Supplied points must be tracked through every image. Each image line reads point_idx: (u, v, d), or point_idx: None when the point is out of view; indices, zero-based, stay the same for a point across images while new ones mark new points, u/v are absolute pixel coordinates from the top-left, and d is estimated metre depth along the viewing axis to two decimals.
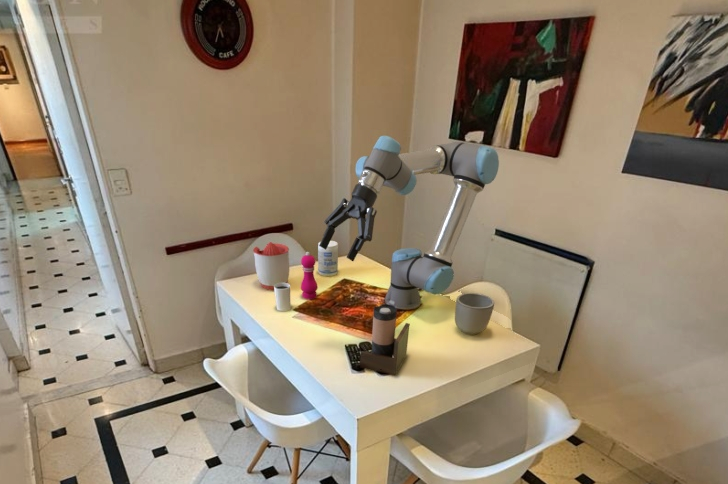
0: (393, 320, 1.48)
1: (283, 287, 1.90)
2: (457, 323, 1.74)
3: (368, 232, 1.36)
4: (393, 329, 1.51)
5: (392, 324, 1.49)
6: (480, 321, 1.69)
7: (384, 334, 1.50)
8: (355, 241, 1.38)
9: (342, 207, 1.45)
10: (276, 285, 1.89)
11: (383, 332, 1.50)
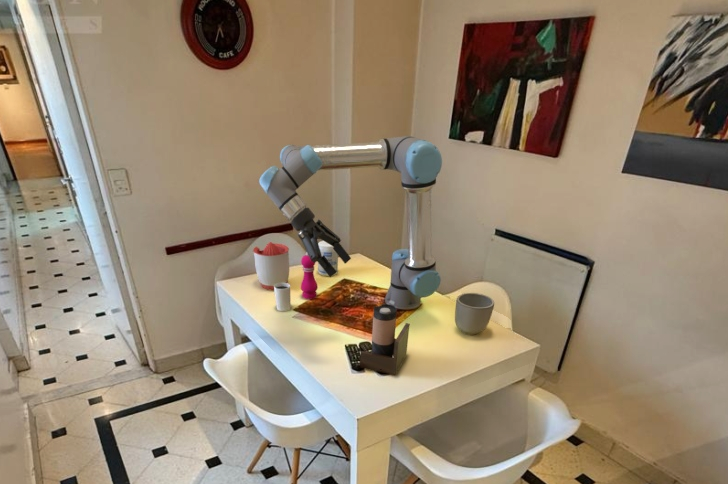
0: (393, 320, 1.48)
1: (283, 287, 1.90)
2: (457, 323, 1.74)
3: (309, 255, 1.42)
4: (393, 329, 1.51)
5: (392, 324, 1.49)
6: (480, 321, 1.69)
7: (384, 334, 1.50)
8: None
9: None
10: (276, 285, 1.89)
11: (383, 332, 1.50)
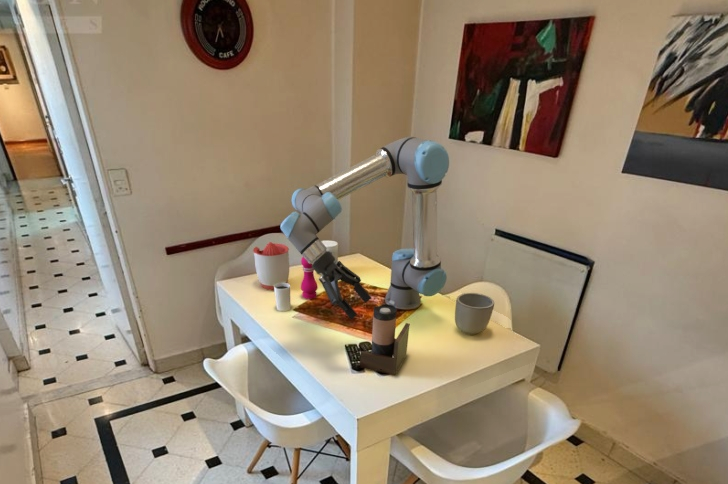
0: (393, 320, 1.48)
1: (283, 287, 1.90)
2: (457, 323, 1.74)
3: (330, 299, 1.43)
4: (393, 329, 1.51)
5: (392, 324, 1.49)
6: (480, 321, 1.69)
7: (384, 333, 1.50)
8: None
9: None
10: (276, 285, 1.89)
11: (383, 332, 1.50)
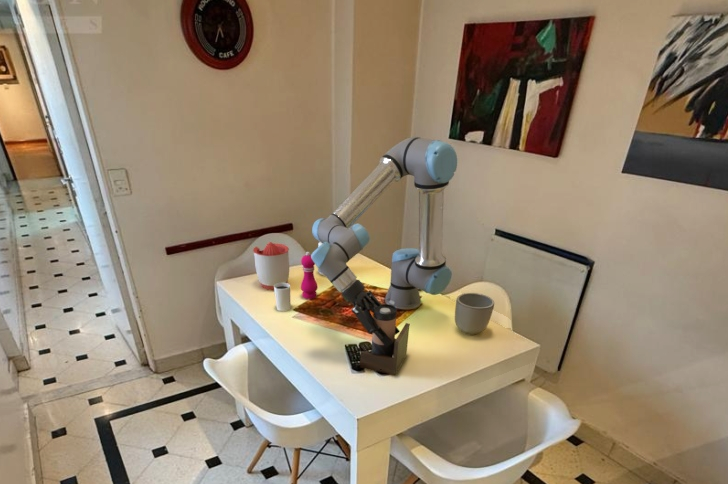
0: (393, 320, 1.48)
1: (283, 287, 1.90)
2: (457, 323, 1.74)
3: (367, 329, 1.47)
4: (393, 329, 1.51)
5: (392, 324, 1.49)
6: (480, 321, 1.69)
7: None
8: None
9: None
10: (276, 285, 1.89)
11: None
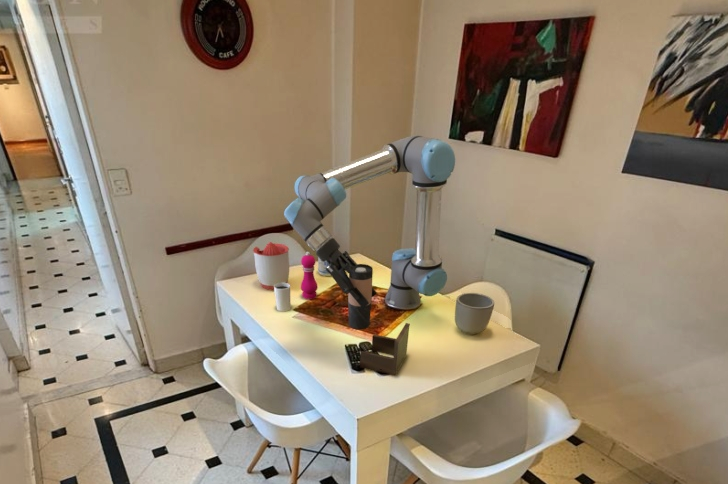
0: (369, 279, 1.44)
1: (283, 287, 1.90)
2: (457, 323, 1.74)
3: (342, 288, 1.43)
4: (369, 289, 1.47)
5: (368, 284, 1.45)
6: (480, 321, 1.69)
7: None
8: None
9: None
10: (276, 285, 1.89)
11: None
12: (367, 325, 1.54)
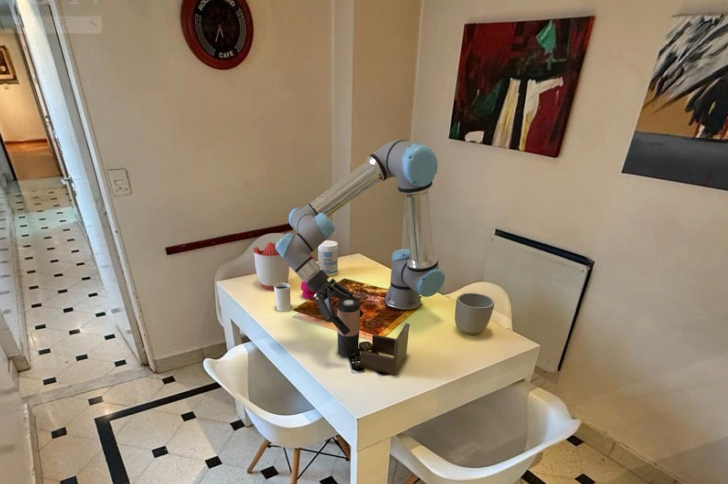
0: (356, 312, 1.53)
1: (283, 287, 1.90)
2: (457, 323, 1.74)
3: (324, 316, 1.49)
4: (357, 321, 1.55)
5: (355, 316, 1.53)
6: (480, 321, 1.69)
7: (348, 325, 1.54)
8: None
9: None
10: (276, 285, 1.89)
11: (347, 324, 1.54)
12: None
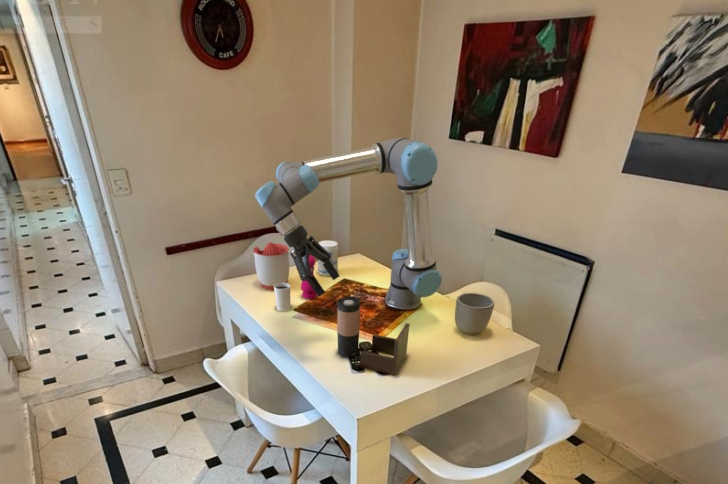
0: (356, 312, 1.53)
1: (283, 287, 1.90)
2: (457, 323, 1.74)
3: (300, 274, 1.45)
4: (357, 321, 1.55)
5: (355, 316, 1.53)
6: (480, 321, 1.69)
7: (348, 325, 1.54)
8: None
9: None
10: (276, 285, 1.89)
11: (347, 324, 1.54)
12: None
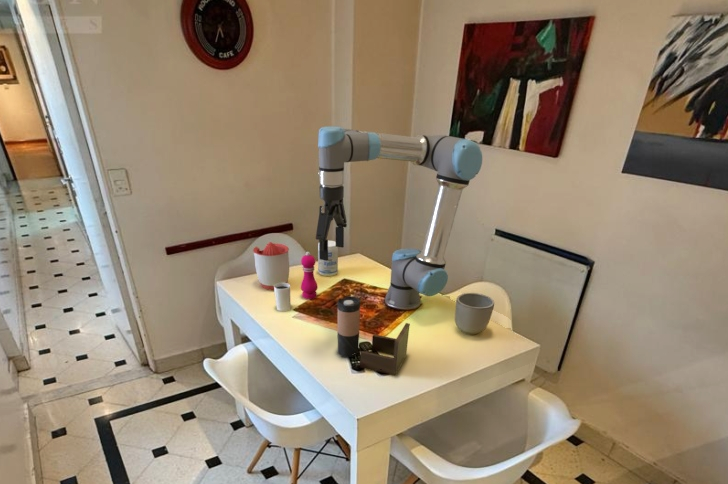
0: (356, 312, 1.53)
1: (283, 287, 1.90)
2: (457, 323, 1.74)
3: (317, 233, 1.41)
4: (357, 321, 1.55)
5: (355, 316, 1.53)
6: (480, 321, 1.69)
7: (348, 325, 1.54)
8: (319, 242, 1.46)
9: None
10: (276, 285, 1.89)
11: (347, 324, 1.54)
12: None
